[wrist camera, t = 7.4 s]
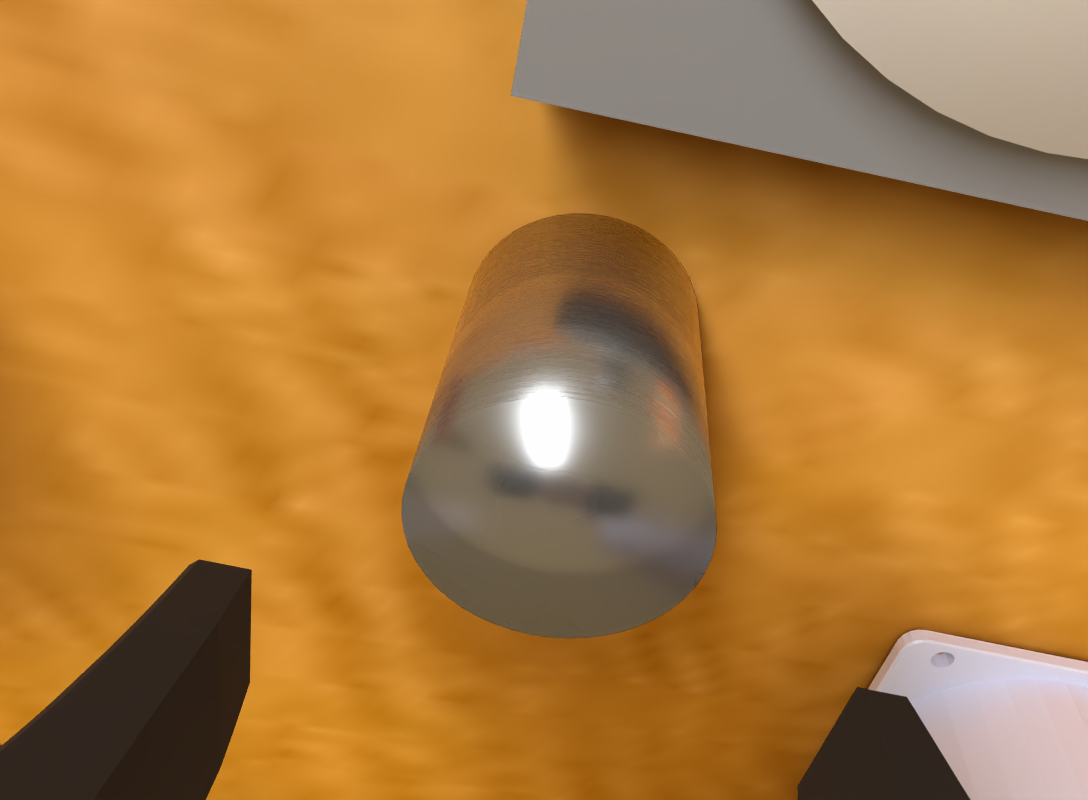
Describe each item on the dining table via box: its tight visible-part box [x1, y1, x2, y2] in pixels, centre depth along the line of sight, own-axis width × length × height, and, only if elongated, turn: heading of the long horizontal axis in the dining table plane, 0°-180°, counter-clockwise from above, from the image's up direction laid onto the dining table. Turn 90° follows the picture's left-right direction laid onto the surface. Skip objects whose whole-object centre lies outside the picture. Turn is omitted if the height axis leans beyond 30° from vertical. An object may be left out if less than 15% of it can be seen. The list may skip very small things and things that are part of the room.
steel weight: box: [402, 214, 717, 638], centre depth 16 cm, size 4×4×6 cm
